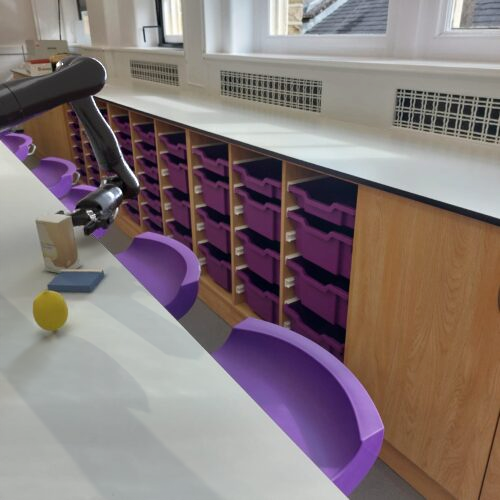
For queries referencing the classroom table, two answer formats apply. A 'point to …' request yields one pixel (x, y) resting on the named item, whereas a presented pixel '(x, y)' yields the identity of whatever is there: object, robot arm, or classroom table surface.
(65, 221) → the cosmetic box
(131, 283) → the classroom table surface
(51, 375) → the classroom table surface
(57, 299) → the lemon
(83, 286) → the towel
